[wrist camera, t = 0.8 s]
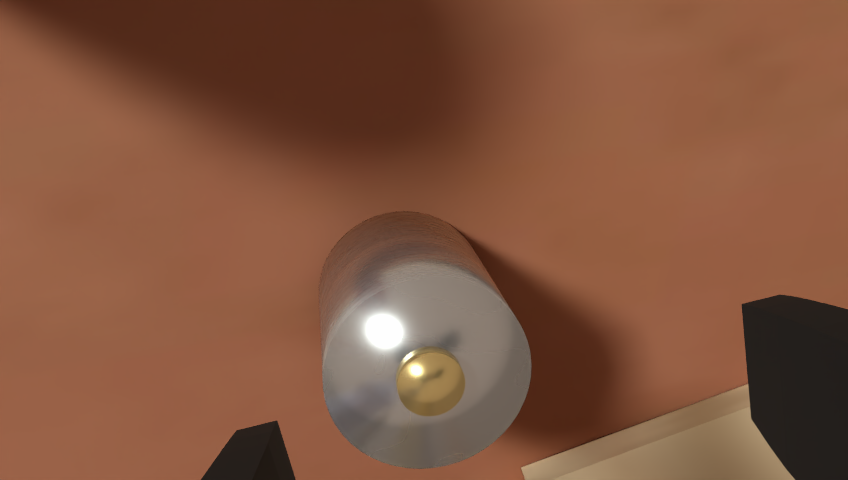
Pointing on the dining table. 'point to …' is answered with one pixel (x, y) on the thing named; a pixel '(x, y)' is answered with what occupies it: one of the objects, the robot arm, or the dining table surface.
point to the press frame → (674, 448)
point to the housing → (417, 343)
